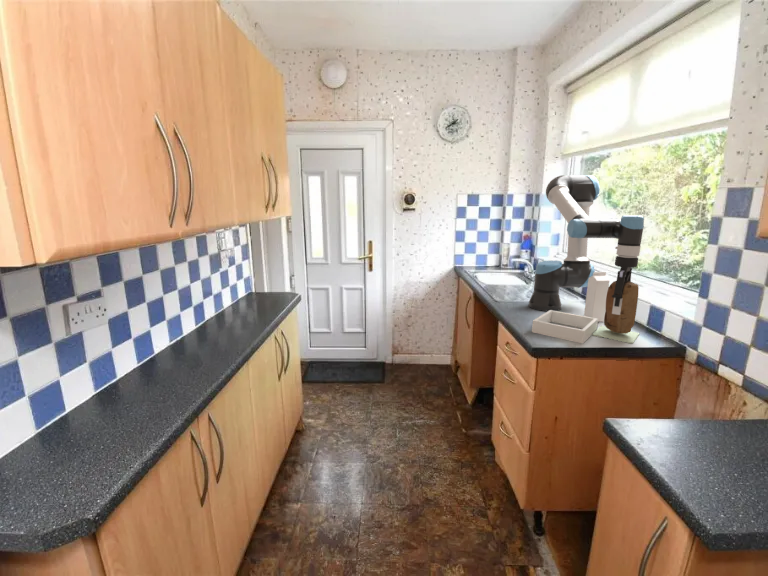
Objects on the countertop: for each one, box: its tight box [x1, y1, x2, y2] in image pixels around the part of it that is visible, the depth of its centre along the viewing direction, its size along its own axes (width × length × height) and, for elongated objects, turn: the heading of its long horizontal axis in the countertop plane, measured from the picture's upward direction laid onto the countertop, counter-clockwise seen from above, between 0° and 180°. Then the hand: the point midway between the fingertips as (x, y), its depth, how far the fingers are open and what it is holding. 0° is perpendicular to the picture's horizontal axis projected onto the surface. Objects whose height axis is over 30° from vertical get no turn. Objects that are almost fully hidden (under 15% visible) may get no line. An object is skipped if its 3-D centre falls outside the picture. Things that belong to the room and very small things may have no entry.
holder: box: [531, 310, 598, 344], centre depth 160 cm, size 20×19×5 cm
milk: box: [583, 271, 610, 323], centre depth 174 cm, size 6×6×22 cm
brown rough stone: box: [603, 280, 640, 334], centre depth 154 cm, size 11×8×20 cm
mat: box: [591, 325, 640, 344], centre depth 157 cm, size 14×14×1 cm
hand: (619, 310), depth 154 cm, fingers closed on brown rough stone, 11 cm apart
